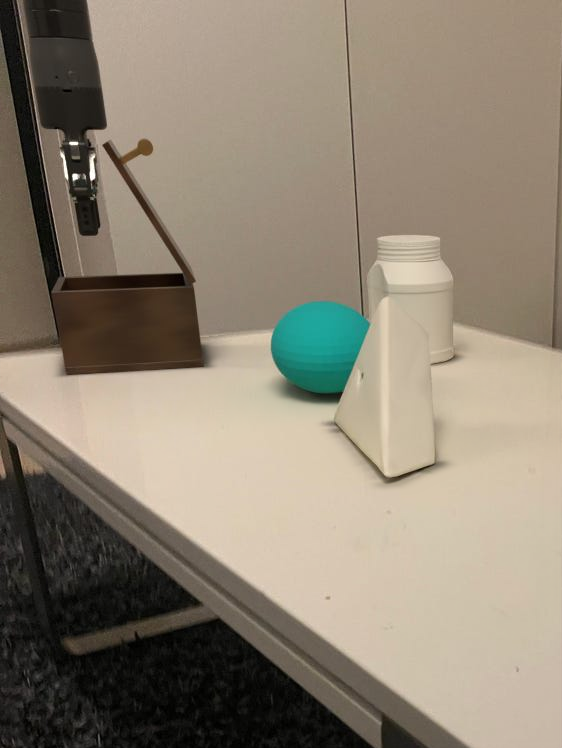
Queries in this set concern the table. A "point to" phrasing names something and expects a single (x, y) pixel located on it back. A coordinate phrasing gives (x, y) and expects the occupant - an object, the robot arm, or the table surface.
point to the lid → (120, 163)
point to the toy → (319, 345)
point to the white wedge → (391, 394)
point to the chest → (127, 322)
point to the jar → (416, 287)
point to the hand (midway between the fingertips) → (90, 232)
